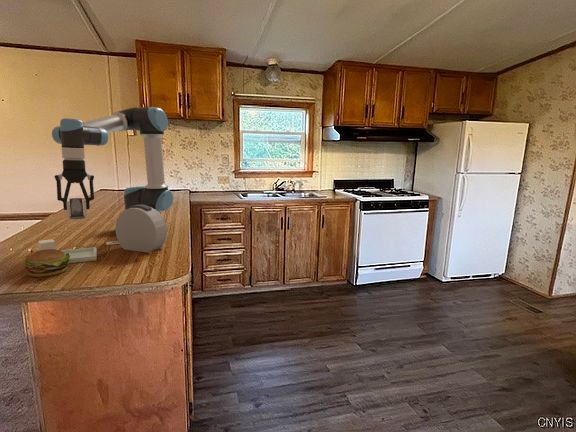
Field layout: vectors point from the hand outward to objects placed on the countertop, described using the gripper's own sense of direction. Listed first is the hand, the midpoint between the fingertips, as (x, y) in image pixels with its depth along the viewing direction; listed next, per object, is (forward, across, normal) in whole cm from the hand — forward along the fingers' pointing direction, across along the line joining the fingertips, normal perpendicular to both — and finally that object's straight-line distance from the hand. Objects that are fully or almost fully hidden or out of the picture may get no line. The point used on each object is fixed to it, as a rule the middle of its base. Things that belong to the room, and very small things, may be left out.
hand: (77, 217), depth 140 cm
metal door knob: (0, 0, 0) cm, 0 cm away
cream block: (+16, +12, -10) cm, 22 cm away
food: (+17, +9, +18) cm, 26 cm away
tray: (+16, +1, +2) cm, 16 cm away
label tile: (+15, -13, -16) cm, 26 cm away
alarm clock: (+16, -24, -2) cm, 29 cm away
